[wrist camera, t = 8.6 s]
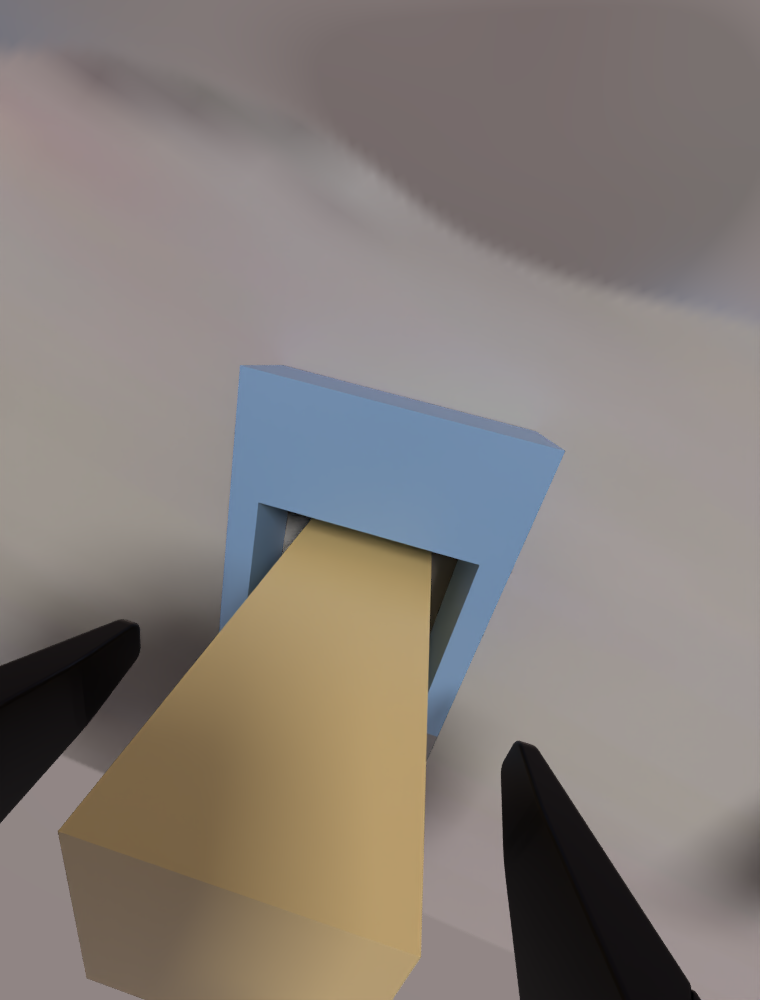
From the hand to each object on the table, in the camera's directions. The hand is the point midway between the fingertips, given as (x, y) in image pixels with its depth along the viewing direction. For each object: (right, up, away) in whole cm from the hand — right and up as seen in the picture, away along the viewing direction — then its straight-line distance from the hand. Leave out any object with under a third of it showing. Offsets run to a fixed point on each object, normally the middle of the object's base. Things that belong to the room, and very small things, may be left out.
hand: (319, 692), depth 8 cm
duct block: (0, -1, +6) cm, 6 cm away
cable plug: (+1, +2, +5) cm, 5 cm away
